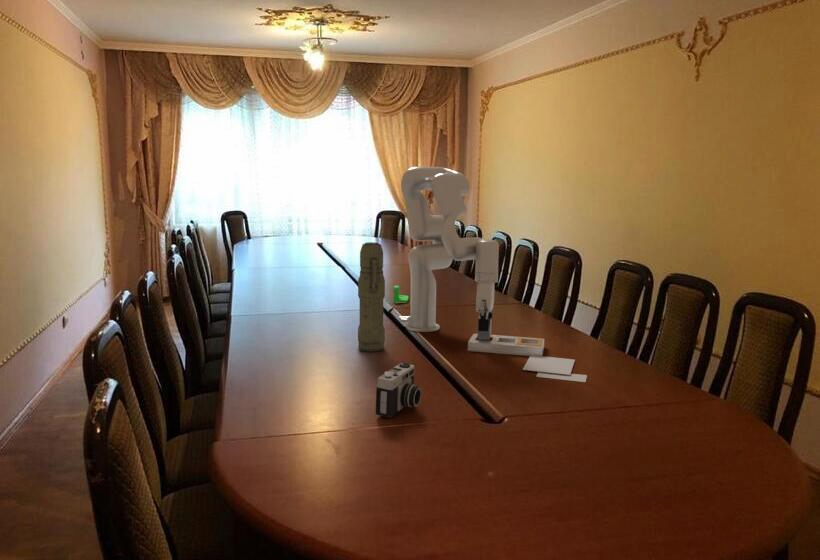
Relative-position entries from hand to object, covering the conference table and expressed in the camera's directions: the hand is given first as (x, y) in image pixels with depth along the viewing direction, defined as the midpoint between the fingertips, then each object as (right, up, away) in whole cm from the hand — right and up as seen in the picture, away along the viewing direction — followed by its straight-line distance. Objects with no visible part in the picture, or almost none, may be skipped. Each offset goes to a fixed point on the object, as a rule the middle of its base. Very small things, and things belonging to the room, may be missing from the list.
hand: (485, 327), depth 215 cm
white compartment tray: (+7, -7, 0) cm, 10 cm away
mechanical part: (-29, +6, +76) cm, 82 cm away
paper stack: (+21, -12, -23) cm, 33 cm away
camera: (-27, -16, -56) cm, 64 cm away
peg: (0, -7, +1) cm, 7 cm away
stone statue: (-38, -7, -1) cm, 39 cm away
